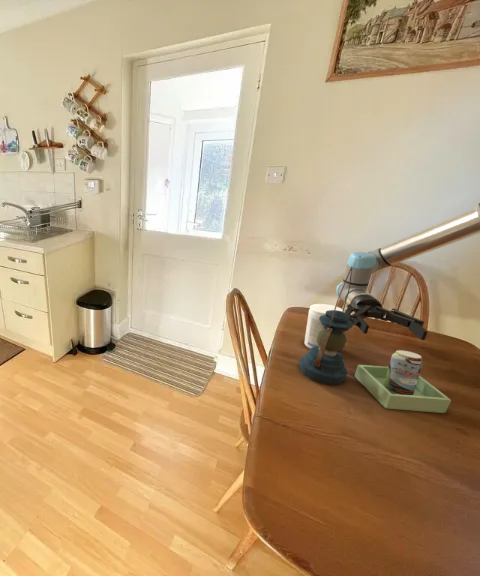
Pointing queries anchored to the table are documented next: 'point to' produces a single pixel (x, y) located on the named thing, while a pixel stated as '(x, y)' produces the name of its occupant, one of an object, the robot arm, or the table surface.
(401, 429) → the table surface
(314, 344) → the supplement tub
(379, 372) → the green square tray
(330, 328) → the lantern
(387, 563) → the table surface
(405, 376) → the beverage can
